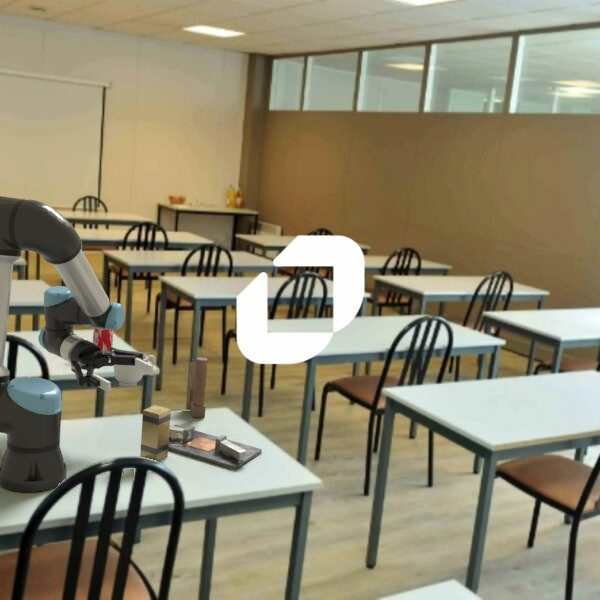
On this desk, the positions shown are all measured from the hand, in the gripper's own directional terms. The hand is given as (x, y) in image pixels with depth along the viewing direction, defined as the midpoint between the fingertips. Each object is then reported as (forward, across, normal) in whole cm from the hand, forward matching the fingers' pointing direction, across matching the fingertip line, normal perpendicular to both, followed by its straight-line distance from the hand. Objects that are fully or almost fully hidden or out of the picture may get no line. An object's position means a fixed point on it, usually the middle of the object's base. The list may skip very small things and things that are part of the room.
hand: (131, 378), depth 190 cm
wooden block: (-10, -32, -26) cm, 42 cm away
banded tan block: (+8, 0, -20) cm, 21 cm away
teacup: (-40, -32, -29) cm, 59 cm away
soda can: (-69, -42, -33) cm, 87 cm away
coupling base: (+12, -15, -22) cm, 29 cm away
